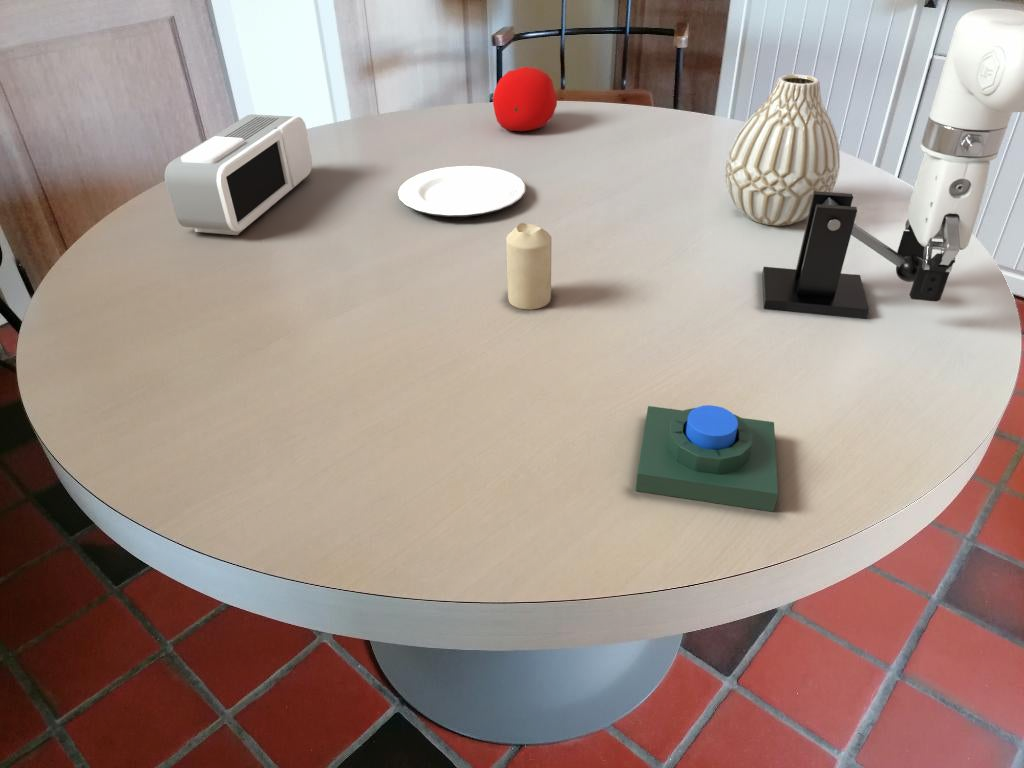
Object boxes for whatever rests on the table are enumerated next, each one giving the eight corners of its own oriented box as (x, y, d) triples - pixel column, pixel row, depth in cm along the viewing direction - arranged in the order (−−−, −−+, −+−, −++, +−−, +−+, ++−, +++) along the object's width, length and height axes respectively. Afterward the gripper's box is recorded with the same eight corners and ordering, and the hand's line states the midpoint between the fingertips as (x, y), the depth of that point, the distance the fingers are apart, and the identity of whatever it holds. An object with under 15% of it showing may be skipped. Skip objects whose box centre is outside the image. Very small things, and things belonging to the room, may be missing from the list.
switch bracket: (857, 283, 98) (884, 189, 90) (866, 318, 91) (896, 219, 83) (761, 275, 100) (780, 182, 93) (763, 308, 93) (783, 211, 86)
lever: (908, 279, 93) (929, 260, 91) (912, 291, 90) (934, 272, 88) (811, 213, 91) (830, 192, 89) (813, 224, 89) (833, 203, 87)
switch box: (769, 439, 73) (777, 406, 71) (773, 512, 66) (782, 478, 63) (646, 422, 76) (649, 391, 73) (635, 491, 68) (638, 458, 66)
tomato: (519, 154, 149) (546, 136, 159) (553, 103, 140) (579, 86, 150) (470, 112, 149) (500, 96, 159) (501, 58, 140) (530, 45, 150)
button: (735, 423, 70) (738, 408, 69) (735, 454, 66) (738, 438, 65) (687, 417, 71) (689, 402, 70) (684, 447, 67) (686, 432, 66)
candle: (558, 295, 97) (560, 223, 91) (536, 314, 93) (536, 240, 87) (522, 284, 100) (521, 214, 94) (499, 303, 96) (497, 230, 90)
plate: (533, 177, 130) (533, 167, 129) (516, 228, 114) (515, 216, 113) (416, 173, 133) (415, 163, 132) (383, 222, 117) (381, 211, 116)
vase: (850, 221, 113) (886, 83, 101) (771, 246, 107) (800, 101, 95) (772, 187, 125) (797, 59, 113) (697, 207, 119) (715, 74, 107)
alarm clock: (237, 243, 112) (217, 165, 105) (181, 239, 113) (158, 161, 106) (315, 177, 133) (303, 108, 126) (267, 173, 135) (252, 106, 128)
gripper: (1024, 167, 73) (967, 318, 83) (980, 116, 87) (935, 251, 97) (941, 162, 75) (894, 312, 85) (909, 113, 89) (872, 246, 98)
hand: (916, 279), depth 91 cm, fingers open, 9 cm apart
